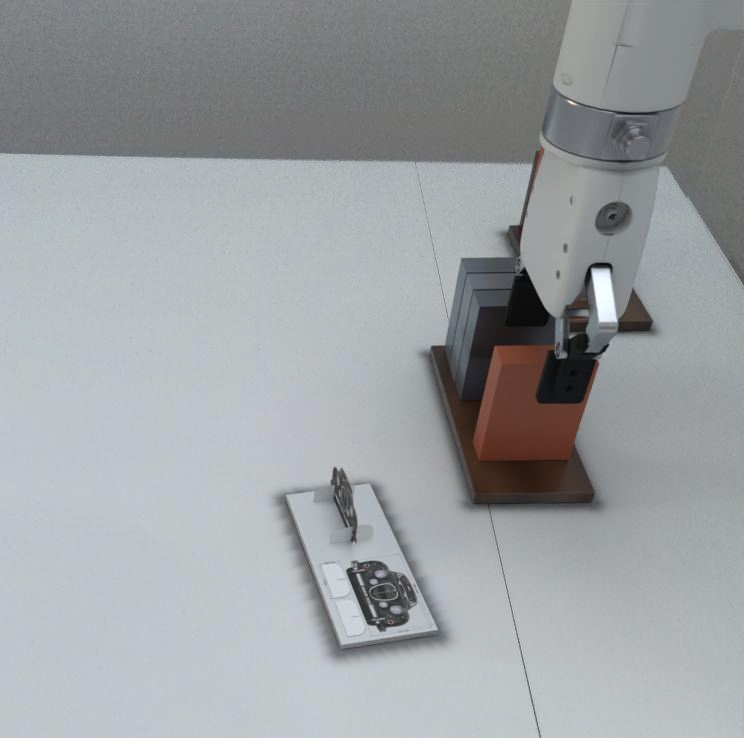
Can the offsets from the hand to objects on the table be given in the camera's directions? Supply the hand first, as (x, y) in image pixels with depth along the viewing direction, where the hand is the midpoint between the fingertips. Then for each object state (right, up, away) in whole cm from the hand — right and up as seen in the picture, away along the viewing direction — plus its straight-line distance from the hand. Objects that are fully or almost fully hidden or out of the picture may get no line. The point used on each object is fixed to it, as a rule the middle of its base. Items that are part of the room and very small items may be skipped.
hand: (540, 361), depth 71 cm
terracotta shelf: (+13, +13, +27) cm, 32 cm away
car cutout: (-13, -15, -1) cm, 20 cm away
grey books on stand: (+1, -3, +10) cm, 11 cm away
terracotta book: (+1, -6, +6) cm, 9 cm away
